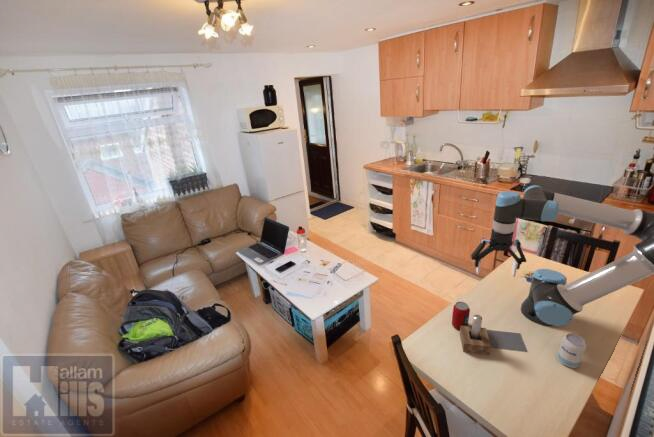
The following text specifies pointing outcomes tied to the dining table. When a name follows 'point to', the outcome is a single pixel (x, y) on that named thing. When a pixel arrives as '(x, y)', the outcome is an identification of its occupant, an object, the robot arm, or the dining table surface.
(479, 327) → the steel pin
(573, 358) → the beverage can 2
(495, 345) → the mat
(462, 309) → the beverage can
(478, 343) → the walnut socket block
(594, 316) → the dining table surface
